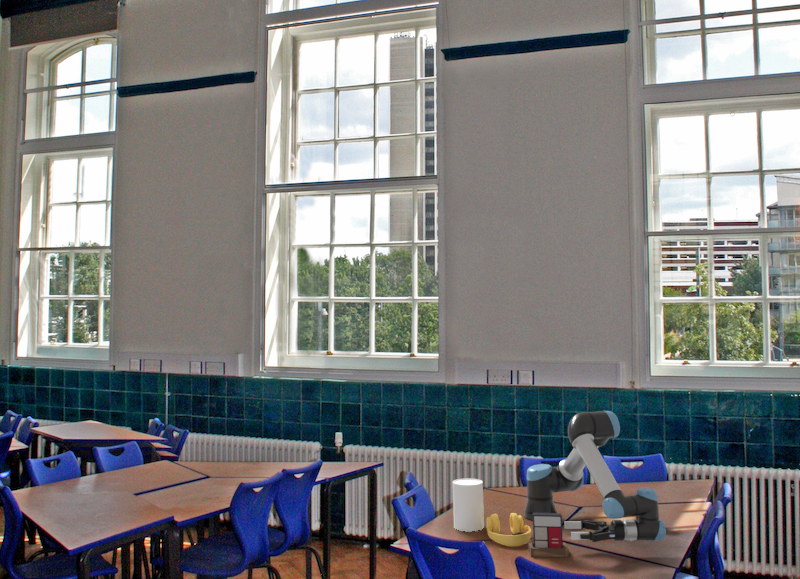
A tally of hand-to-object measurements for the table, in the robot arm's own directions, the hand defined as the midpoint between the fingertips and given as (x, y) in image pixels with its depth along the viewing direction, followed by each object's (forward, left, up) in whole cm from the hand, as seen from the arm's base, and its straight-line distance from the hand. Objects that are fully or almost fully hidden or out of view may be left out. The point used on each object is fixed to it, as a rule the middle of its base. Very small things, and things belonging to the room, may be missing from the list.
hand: (567, 530), depth 253 cm
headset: (-19, -22, -9) cm, 30 cm away
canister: (-34, -38, -9) cm, 52 cm away
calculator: (0, -8, -9) cm, 12 cm away
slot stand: (0, -8, -9) cm, 12 cm away
